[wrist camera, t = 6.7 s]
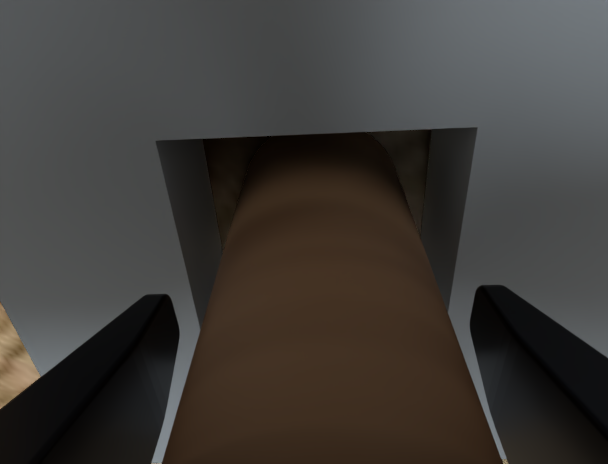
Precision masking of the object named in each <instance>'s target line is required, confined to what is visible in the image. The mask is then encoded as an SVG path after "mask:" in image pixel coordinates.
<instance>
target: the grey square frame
mask: <svg viewBox="0 0 608 464" xmlns="http://www.w3.org/2000/svg"><path fill="white" fill-rule="evenodd" d="M421 129H432V131H431V141H430V151H429V160H428V170H427V179H426V189H425V198H424V208H423V217H422V227H421V236H420V238H421V241H422V244H423V246H424V249H425V252H426V254H427V257H428V260H429V263H430V265H431V268H432V271H433V274H434V276H435V279H436V282H437V285H438V287H439V290H440V293H441V295H442V298H443V301H444V304H445V306H446V309H447V312H448V315H449V317H450V320H451V323H452V326H453V328H454V331H455V334H456V336H457V339H458V342H459V345H460V347H461V350H462V353H463V356H464V358H465V361H466V364H467V367H468V369H469V372H470V375H471V377H472V380H473V383H474V386H475V388H476V391H477V394H478V397H479V399H480V402H481V405H482V408H483V410H484V413H485V416H486V418H487V421H488V424H489V427H490V429H491V432H492V435H493V438H494V440H495V443H496V446H497V449H498V451H499V454H500V457H501V459H507V458H506V456H505V453H504V450H503V447H502V445H501V442H500V439H499V437H498V434H497V431H496V429H495V426H494V423H493V420H492V417H491V414H490V410H489V406H488V403H487V399H486V395H485V391H484V387H483V383H482V378H481V374H480V370H479V366H478V362H477V358H476V354H475V350H474V346H473V342H472V338H471V333H470V317H471V311H472V306H473V301H474V296H475V292H476V289H477V287H479V286H480V285H498V284H499V285H504V286H505V287H507V288H508V289H510V290H511V291H513V292H514V293H516V294H517V295H518V296H520V297H521V298H523V299H524V300H526V301H527V302H529V303H530V304H531V305H533V306H534V307H536V308H537V309H539V310H540V311H541V312H543V313H544V314H546V315H547V316H549V317H550V318H552V319H553V320H554V321H556V322H557V323H559V324H560V325H562V326H563V327H564V328H566V329H567V330H569V331H570V332H572V333H573V334H574V335H576V336H577V337H579V338H580V339H582V340H583V341H585V342H586V343H587V344H589V345H590V346H592V347H593V348H595V349H596V350H597V351H599V352H600V353H602V354H603V355H605V356H606V357H607V358H608V0H0V302H1V303H2V305H3V307H4V309H5V311H6V313H7V315H8V316H9V318H10V320H11V322H12V324H13V326H14V328H15V329H16V331H17V333H18V335H19V337H20V339H21V341H22V342H23V344H24V346H25V348H26V350H27V352H28V354H29V355H30V357H31V359H32V361H33V363H34V365H35V367H36V368H37V370H38V372H39V374H40V376H43V375H44V374H45V373H47V372H48V371H49V370H50V369H52V368H53V367H54V366H55V365H57V364H58V363H59V362H60V361H62V360H63V359H64V358H65V357H67V356H68V355H69V354H71V353H72V352H73V351H74V350H76V349H77V348H78V347H79V346H81V345H82V344H83V343H84V342H86V341H87V340H88V339H89V338H91V337H92V336H93V335H95V334H96V333H97V332H98V331H100V330H101V329H102V328H103V327H105V326H106V325H107V324H108V323H110V322H111V321H112V320H113V319H115V318H116V317H117V316H119V315H120V314H121V313H122V312H124V311H125V310H126V309H127V308H129V307H130V306H131V305H132V304H134V303H135V302H136V301H138V300H139V299H140V298H141V297H143V296H144V295H146V294H167V295H169V296H170V298H171V300H172V303H173V306H174V310H175V314H176V317H177V321H178V325H179V330H180V338H179V344H178V350H177V355H176V361H175V366H174V372H173V377H172V383H171V388H170V393H169V399H168V404H167V409H166V414H165V419H164V422H163V426H162V430H161V433H160V437H159V440H158V443H157V446H156V450H155V453H154V456H153V460H152V463H162V461H163V457H164V454H165V450H166V447H167V444H168V440H169V437H170V433H171V430H172V426H173V423H174V419H175V416H176V413H177V409H178V406H179V402H180V399H181V395H182V392H183V388H184V385H185V382H186V378H187V375H188V371H189V368H190V364H191V361H192V357H193V354H194V351H195V347H196V344H197V340H198V337H199V333H200V330H201V326H202V323H203V320H204V316H205V313H206V309H207V306H208V302H209V299H210V296H211V292H212V289H213V285H214V282H215V278H216V275H217V271H218V268H219V265H220V261H221V258H222V254H223V251H222V245H221V240H220V234H219V229H218V223H217V217H216V212H215V206H214V201H213V195H212V189H211V184H210V178H209V173H208V167H207V162H206V156H205V150H204V145H203V139H207V138H231V137H255V136H279V135H303V134H326V133H350V132H374V131H398V130H421Z"/></svg>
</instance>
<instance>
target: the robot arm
mask: <svg viewBox="0 0 608 464" xmlns="http://www.w3.org/2000/svg"><path fill="white" fill-rule="evenodd" d="M470 333H471V338H472V342H473V346H474V350H475V354H476V358H477V362H478V366H479V370H480V374H481V378H482V383H483V387H484V391H485V395H486V399H487V403H488V406H489V410H490V414H491V417H492V420H493V423H494V426H495V429H496V431H497V434H498V437H499V439H500V442H501V445H502V447H503V450H504V453H505V456H506V458H507V461H508V464H608V358H607V357H606V356H605V355H603V354H602V353H600V352H599V351H597V350H596V349H595V348H593V347H592V346H590V345H589V344H587V343H586V342H585V341H583V340H582V339H580V338H579V337H577V336H576V335H574V334H573V333H572V332H570V331H569V330H567V329H566V328H564V327H563V326H562V325H560V324H559V323H557V322H556V321H554V320H553V319H552V318H550V317H549V316H547V315H546V314H544V313H543V312H541V311H540V310H539V309H537V308H536V307H534V306H533V305H531V304H530V303H529V302H527V301H526V300H524V299H523V298H521V297H520V296H518V295H517V294H516V293H514V292H513V291H511V290H510V289H508V288H507V287H505V286H504V285H499V284H498V285H480V286H479V287H477V289H476V292H475V296H474V301H473V306H472V311H471V317H470ZM179 338H180V330H179V325H178V321H177V317H176V314H175V310H174V306H173V303H172V300H171V298H170V296H169V295H167V294H146V295H144V296H143V297H141V298H140V299H139V300H138V301H136V302H135V303H134V304H132V305H131V306H130V307H129V308H127V309H126V310H125V311H124V312H122V313H121V314H120V315H119V316H117V317H116V318H115V319H113V320H112V321H111V322H110V323H108V324H107V325H106V326H105V327H103V328H102V329H101V330H100V331H98V332H97V333H96V334H95V335H93V336H92V337H91V338H89V339H88V340H87V341H86V342H84V343H83V344H82V345H81V346H79V347H78V348H77V349H76V350H74V351H73V352H72V353H71V354H69V355H68V356H67V357H65V358H64V359H63V360H62V361H60V362H59V363H58V364H57V365H55V366H54V367H53V368H52V369H50V370H49V371H48V372H47V373H45V374H44V375H43V376H41V377H40V378H39V379H38V380H36V381H35V382H34V383H33V384H31V385H30V386H29V387H28V388H26V389H25V390H24V391H23V392H21V393H20V394H19V395H17V396H16V397H15V398H14V399H12V400H11V401H10V402H9V403H7V404H6V405H5V406H4V407H2V408H1V409H0V464H151V463H152V460H153V456H154V453H155V450H156V446H157V443H158V440H159V437H160V433H161V430H162V426H163V422H164V419H165V414H166V409H167V404H168V399H169V393H170V388H171V383H172V377H173V372H174V366H175V361H176V355H177V350H178V344H179Z"/></svg>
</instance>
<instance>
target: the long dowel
mask: <svg viewBox="0 0 608 464" xmlns="http://www.w3.org/2000/svg"><path fill="white" fill-rule="evenodd" d="M162 464H503V462H502V459H501V457H500V454H499V451H498V449H497V446H496V443H495V440H494V438H493V435H492V432H491V429H490V427H489V424H488V421H487V418H486V416H485V413H484V410H483V408H482V405H481V402H480V399H479V397H478V394H477V391H476V388H475V386H474V383H473V380H472V377H471V375H470V372H469V369H468V367H467V364H466V361H465V358H464V356H463V353H462V350H461V347H460V345H459V342H458V339H457V336H456V334H455V331H454V328H453V326H452V323H451V320H450V317H449V315H448V312H447V309H446V306H445V304H444V301H443V298H442V295H441V293H440V290H439V287H438V285H437V282H436V279H435V276H434V274H433V271H432V268H431V265H430V263H429V260H428V257H427V254H426V252H425V249H424V246H423V244H422V241H421V238H420V235H419V233H418V230H417V227H416V224H415V222H414V219H413V216H412V213H411V211H410V208H409V205H408V203H407V200H406V197H405V194H404V192H403V189H402V186H401V183H400V181H399V178H398V175H397V172H396V170H395V167H394V165H393V162H392V160H391V158H390V156H389V155H388V154H387V152H386V151H385V149H384V148H383V147H382V146H381V145H380V144H379V143H378V141H376V140H375V139H374V138H373V137H371V136H370V135H369V134H367V133H366V132H350V133H326V134H303V135H279V136H272V137H271V138H269V139H268V140H267V141H266V142H265V143H264V144H263V145H262V146H261V147H260V148H259V149H258V151H257V152H256V153H255V155H254V156H253V158H252V160H251V162H250V164H249V166H248V169H247V172H246V175H245V178H244V182H243V185H242V189H241V192H240V196H239V199H238V203H237V206H236V209H235V213H234V216H233V220H232V223H231V227H230V230H229V234H228V237H227V240H226V244H225V247H224V251H223V254H222V258H221V261H220V265H219V268H218V271H217V275H216V278H215V282H214V285H213V289H212V292H211V296H210V299H209V302H208V306H207V309H206V313H205V316H204V320H203V323H202V326H201V330H200V333H199V337H198V340H197V344H196V347H195V351H194V354H193V357H192V361H191V364H190V368H189V371H188V375H187V378H186V382H185V385H184V388H183V392H182V395H181V399H180V402H179V406H178V409H177V413H176V416H175V419H174V423H173V426H172V430H171V433H170V437H169V440H168V444H167V447H166V450H165V454H164V457H163V461H162Z"/></svg>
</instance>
